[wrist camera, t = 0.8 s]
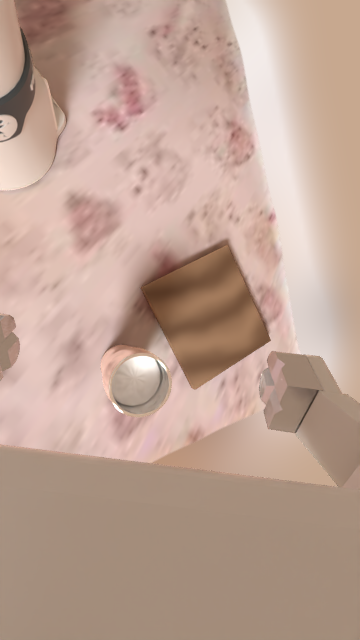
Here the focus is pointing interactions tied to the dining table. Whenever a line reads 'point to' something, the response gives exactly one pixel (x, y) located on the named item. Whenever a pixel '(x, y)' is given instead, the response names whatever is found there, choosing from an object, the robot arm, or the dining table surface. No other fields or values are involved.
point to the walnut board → (207, 315)
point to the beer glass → (135, 380)
